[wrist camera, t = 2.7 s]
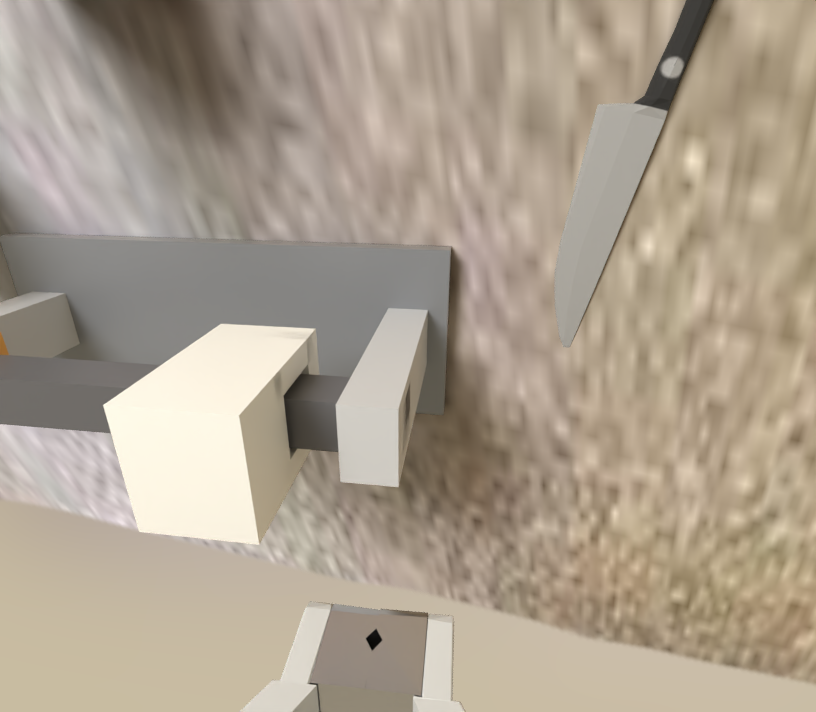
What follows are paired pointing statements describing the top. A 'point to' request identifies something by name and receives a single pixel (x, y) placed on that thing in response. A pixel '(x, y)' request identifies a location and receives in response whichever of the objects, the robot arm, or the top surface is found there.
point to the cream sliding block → (213, 433)
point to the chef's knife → (616, 174)
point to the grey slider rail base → (230, 304)
